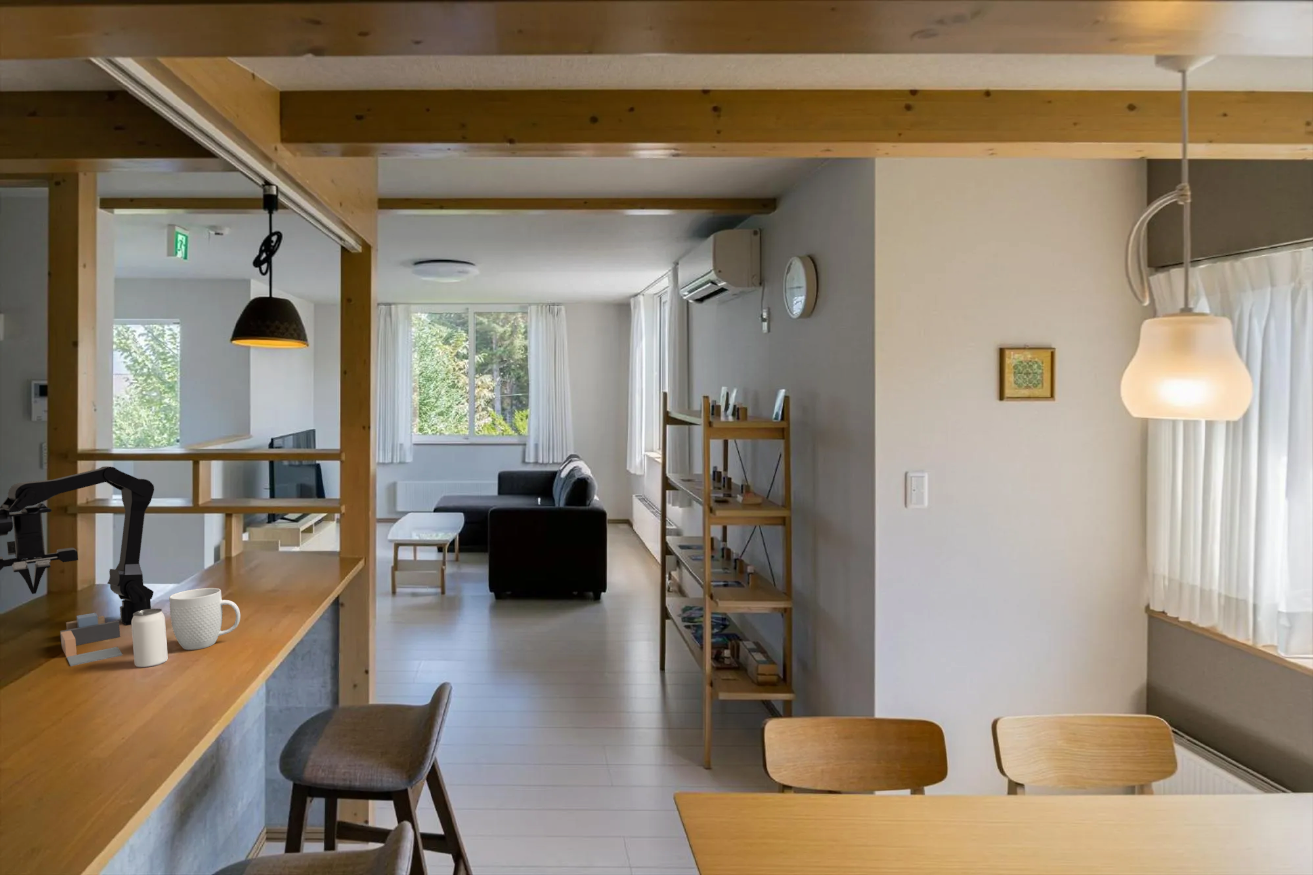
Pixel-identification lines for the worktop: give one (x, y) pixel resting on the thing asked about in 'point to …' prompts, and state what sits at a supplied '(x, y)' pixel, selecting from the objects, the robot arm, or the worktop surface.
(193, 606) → the mug
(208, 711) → the worktop surface
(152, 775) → the worktop surface
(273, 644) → the worktop surface
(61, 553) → the robot arm
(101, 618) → the back block
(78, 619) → the plug
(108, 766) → the worktop surface
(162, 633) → the can
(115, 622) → the grey tan flat block
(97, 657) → the pad
